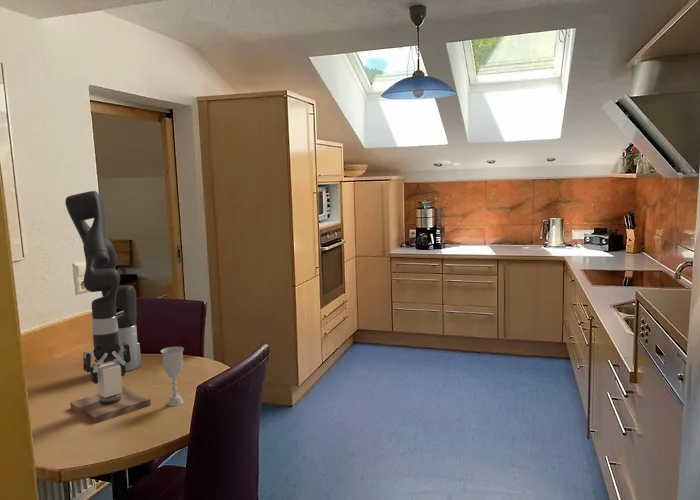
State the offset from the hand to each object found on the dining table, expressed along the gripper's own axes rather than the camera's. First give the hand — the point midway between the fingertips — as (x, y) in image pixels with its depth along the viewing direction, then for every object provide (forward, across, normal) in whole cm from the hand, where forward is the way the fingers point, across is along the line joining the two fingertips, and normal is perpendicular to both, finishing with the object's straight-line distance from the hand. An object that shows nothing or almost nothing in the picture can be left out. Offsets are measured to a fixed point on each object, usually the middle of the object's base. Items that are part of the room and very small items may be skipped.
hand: (108, 379), depth 175 cm
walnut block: (+9, 0, 0) cm, 9 cm away
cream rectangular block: (+5, 0, 0) cm, 5 cm away
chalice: (+9, -15, +14) cm, 23 cm away
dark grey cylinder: (+7, 0, 0) cm, 7 cm away
